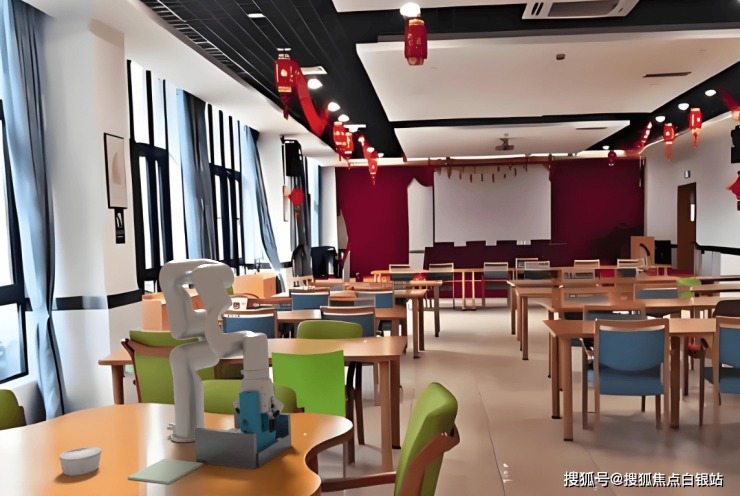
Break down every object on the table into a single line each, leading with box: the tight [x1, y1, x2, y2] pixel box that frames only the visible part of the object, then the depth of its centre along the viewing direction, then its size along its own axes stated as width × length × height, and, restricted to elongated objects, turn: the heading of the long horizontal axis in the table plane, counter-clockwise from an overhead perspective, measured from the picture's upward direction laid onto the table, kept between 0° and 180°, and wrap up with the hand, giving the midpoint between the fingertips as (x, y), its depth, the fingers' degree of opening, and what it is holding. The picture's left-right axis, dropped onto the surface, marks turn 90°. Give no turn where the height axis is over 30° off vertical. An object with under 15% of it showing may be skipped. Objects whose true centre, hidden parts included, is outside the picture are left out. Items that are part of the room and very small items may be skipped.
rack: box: [194, 410, 292, 470], centre depth 190 cm, size 20×22×10 cm
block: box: [238, 385, 276, 451], centre depth 188 cm, size 12×5×20 cm, turn 152°
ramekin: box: [58, 446, 102, 477], centre depth 181 cm, size 11×11×5 cm
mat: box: [127, 458, 204, 485], centre depth 177 cm, size 14×15×1 cm
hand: (259, 430), depth 188 cm, fingers open, 9 cm apart
